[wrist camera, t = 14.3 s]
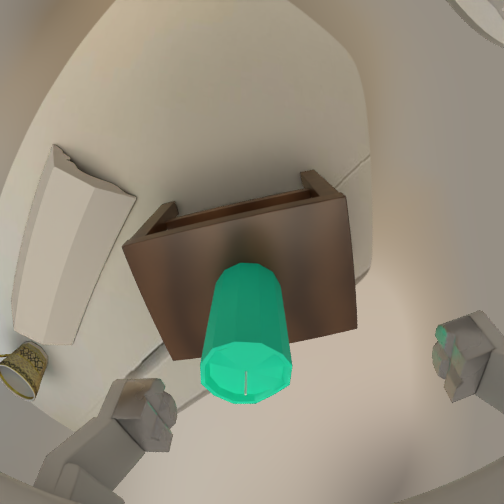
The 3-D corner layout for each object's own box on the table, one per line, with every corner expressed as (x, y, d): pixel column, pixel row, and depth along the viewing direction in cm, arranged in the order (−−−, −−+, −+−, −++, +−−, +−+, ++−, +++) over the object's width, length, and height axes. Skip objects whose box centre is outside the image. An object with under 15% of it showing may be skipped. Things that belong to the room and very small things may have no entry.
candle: (224, 322, 30) (212, 424, 19) (206, 269, 28) (181, 367, 17) (285, 312, 29) (300, 414, 18) (274, 255, 27) (288, 352, 16)
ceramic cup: (55, 349, 51) (34, 383, 42) (54, 376, 55) (36, 408, 46) (7, 319, 49) (-18, 348, 39) (9, 348, 52) (-12, 376, 43)
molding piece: (62, 304, 55) (72, 345, 50) (11, 300, 46) (15, 343, 41) (119, 164, 44) (136, 198, 39) (52, 144, 35) (55, 177, 30)
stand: (314, 168, 38) (346, 196, 25) (329, 267, 43) (357, 328, 30) (161, 203, 39) (121, 246, 27) (192, 294, 45) (173, 361, 32)
